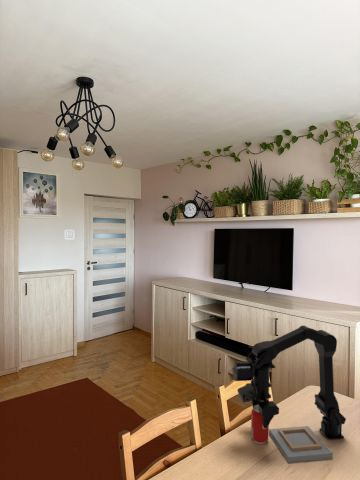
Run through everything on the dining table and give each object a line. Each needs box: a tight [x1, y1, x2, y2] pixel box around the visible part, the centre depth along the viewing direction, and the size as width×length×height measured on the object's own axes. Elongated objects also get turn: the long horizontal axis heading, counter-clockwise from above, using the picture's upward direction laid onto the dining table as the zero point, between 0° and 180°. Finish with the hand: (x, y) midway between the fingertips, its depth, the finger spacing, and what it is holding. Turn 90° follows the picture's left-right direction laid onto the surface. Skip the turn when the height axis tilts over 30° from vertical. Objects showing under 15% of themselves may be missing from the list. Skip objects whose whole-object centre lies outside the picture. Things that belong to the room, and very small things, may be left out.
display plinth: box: [268, 425, 333, 464], centre depth 124 cm, size 16×16×3 cm
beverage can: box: [250, 405, 270, 445], centre depth 127 cm, size 6×6×12 cm
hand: (260, 420), depth 127 cm, fingers open, 9 cm apart
